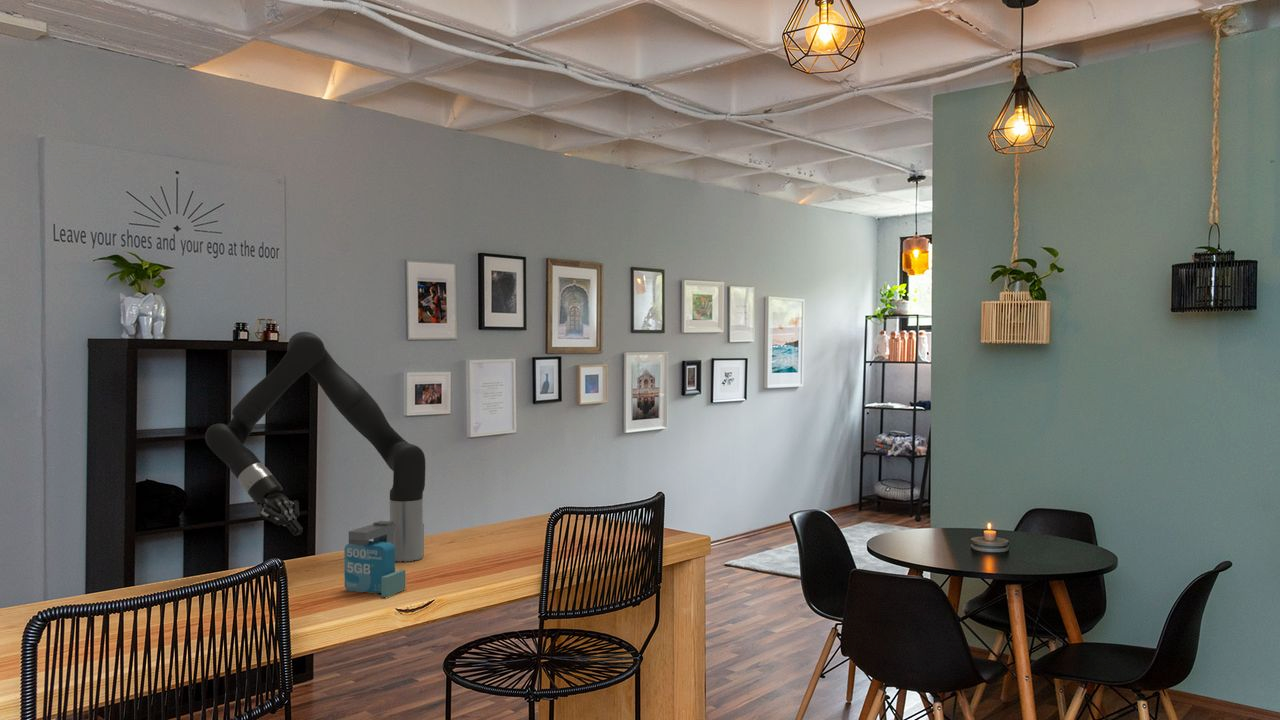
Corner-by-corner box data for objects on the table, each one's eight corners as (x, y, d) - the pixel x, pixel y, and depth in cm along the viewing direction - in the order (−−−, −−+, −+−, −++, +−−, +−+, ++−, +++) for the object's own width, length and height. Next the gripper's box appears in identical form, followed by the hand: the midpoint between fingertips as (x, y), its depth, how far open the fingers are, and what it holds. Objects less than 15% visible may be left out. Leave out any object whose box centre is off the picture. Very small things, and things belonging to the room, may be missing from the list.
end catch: (400, 589, 236) (400, 569, 236) (405, 589, 235) (405, 570, 235) (381, 597, 228) (381, 576, 228) (386, 597, 228) (386, 577, 228)
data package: (344, 590, 234) (343, 543, 234) (354, 586, 239) (354, 539, 239) (385, 594, 231) (385, 546, 230) (395, 590, 235) (395, 542, 235)
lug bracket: (380, 579, 245) (380, 519, 245) (403, 582, 243) (403, 520, 243) (345, 593, 232) (345, 529, 231) (369, 596, 229) (369, 531, 229)
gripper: (249, 478, 238) (290, 528, 234) (285, 470, 250) (324, 519, 246) (233, 497, 239) (273, 548, 236) (269, 489, 252) (308, 537, 248)
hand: (299, 533), depth 241 cm, fingers closed
